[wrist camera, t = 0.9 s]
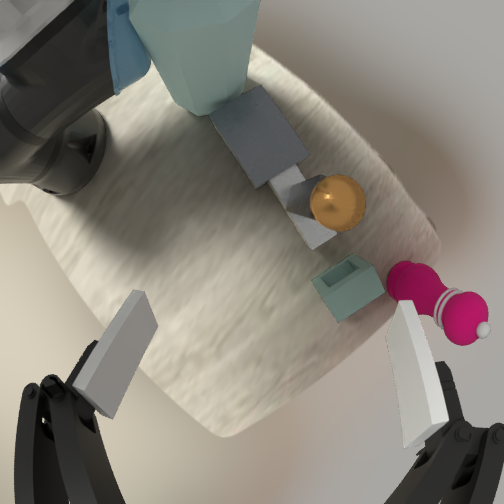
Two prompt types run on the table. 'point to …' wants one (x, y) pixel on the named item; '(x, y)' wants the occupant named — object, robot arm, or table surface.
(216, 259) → the table surface
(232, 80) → the water bottle
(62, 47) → the robot arm
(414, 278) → the pepper mill
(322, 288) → the socket block
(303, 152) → the charcoal rectangular brick
